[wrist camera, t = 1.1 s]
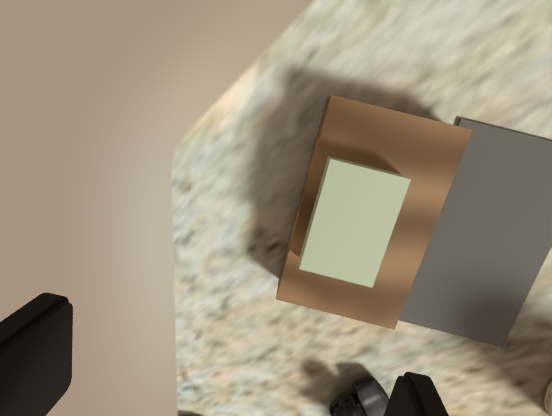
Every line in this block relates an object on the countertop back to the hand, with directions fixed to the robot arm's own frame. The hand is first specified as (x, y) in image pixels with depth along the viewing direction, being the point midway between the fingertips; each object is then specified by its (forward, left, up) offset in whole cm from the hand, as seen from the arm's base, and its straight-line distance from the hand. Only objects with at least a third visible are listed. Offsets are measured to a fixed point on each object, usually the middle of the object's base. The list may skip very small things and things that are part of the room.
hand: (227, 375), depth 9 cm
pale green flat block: (+1, -6, -18) cm, 19 cm away
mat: (+1, -19, -23) cm, 30 cm away
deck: (+1, -7, -23) cm, 24 cm away
